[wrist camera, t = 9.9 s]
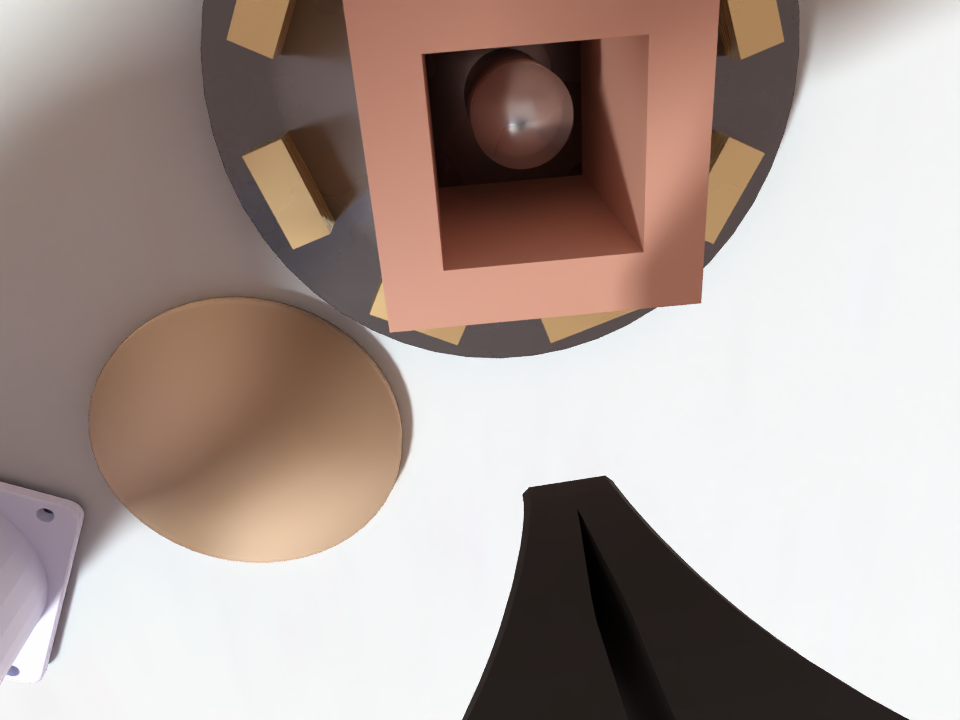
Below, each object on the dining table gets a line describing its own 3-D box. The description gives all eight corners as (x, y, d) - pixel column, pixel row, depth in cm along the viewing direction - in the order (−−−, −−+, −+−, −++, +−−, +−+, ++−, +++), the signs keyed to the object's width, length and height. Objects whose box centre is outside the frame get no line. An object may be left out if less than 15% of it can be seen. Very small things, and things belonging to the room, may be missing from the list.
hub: (153, 240, 20) (85, 305, 16) (314, -416, 14) (271, -567, 10) (619, 403, 23) (660, 492, 19) (896, -84, 18) (1034, -102, 14)
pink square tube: (399, 234, 19) (389, 332, 14) (367, -20, 17) (339, -19, 11) (625, 213, 19) (701, 302, 14) (628, -42, 17) (722, -51, 11)
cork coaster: (70, 507, 24) (63, 517, 23) (130, 250, 20) (123, 256, 20) (347, 581, 26) (346, 591, 25) (446, 359, 22) (447, 367, 22)
